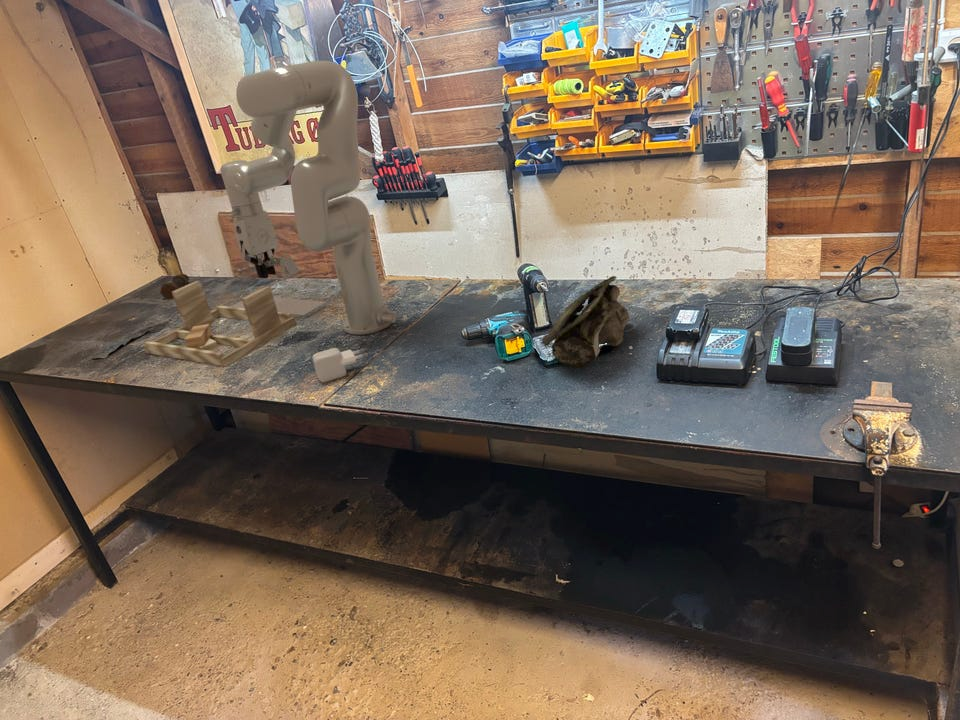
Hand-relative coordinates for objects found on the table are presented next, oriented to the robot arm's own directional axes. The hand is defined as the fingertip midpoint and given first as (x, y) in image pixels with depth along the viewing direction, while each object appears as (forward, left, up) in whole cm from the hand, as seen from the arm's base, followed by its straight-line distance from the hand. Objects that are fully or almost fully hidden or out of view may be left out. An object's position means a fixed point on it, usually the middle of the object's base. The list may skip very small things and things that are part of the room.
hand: (267, 275), depth 176 cm
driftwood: (+29, +29, -11) cm, 42 cm away
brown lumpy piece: (+50, -5, -10) cm, 51 cm away
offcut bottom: (-1, +26, -10) cm, 28 cm away
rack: (0, +20, -10) cm, 22 cm away
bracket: (0, 0, -1) cm, 1 cm away
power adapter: (-47, +27, -10) cm, 55 cm away
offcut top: (-1, +26, -7) cm, 27 cm away
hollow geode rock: (-94, +4, -10) cm, 94 cm away
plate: (0, 0, -10) cm, 10 cm away
